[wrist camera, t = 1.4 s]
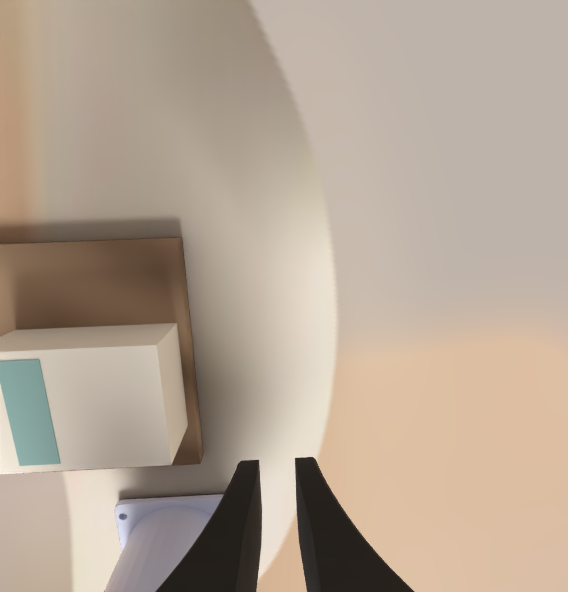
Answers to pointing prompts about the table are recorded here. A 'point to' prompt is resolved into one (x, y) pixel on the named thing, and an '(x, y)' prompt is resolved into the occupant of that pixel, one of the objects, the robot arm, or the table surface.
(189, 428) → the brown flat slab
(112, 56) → the table surface
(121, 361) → the carton
